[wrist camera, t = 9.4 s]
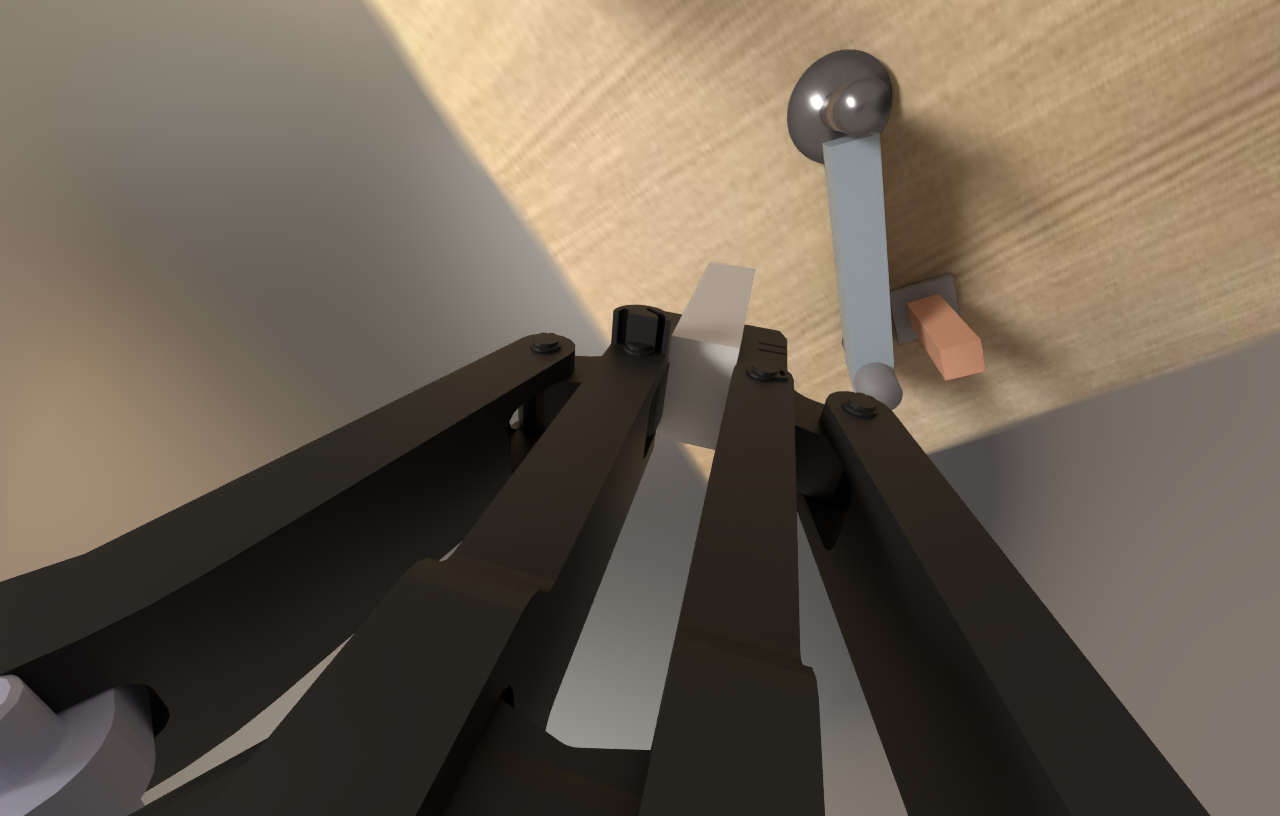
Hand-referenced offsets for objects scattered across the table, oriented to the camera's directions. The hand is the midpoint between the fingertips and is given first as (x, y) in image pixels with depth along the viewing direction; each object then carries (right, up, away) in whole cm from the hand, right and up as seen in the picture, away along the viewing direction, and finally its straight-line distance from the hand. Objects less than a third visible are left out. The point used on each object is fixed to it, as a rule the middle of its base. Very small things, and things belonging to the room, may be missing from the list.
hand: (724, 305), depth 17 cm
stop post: (+17, +4, +19) cm, 26 cm away
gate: (+12, +7, +18) cm, 23 cm away
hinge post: (+9, +15, +14) cm, 23 cm away
